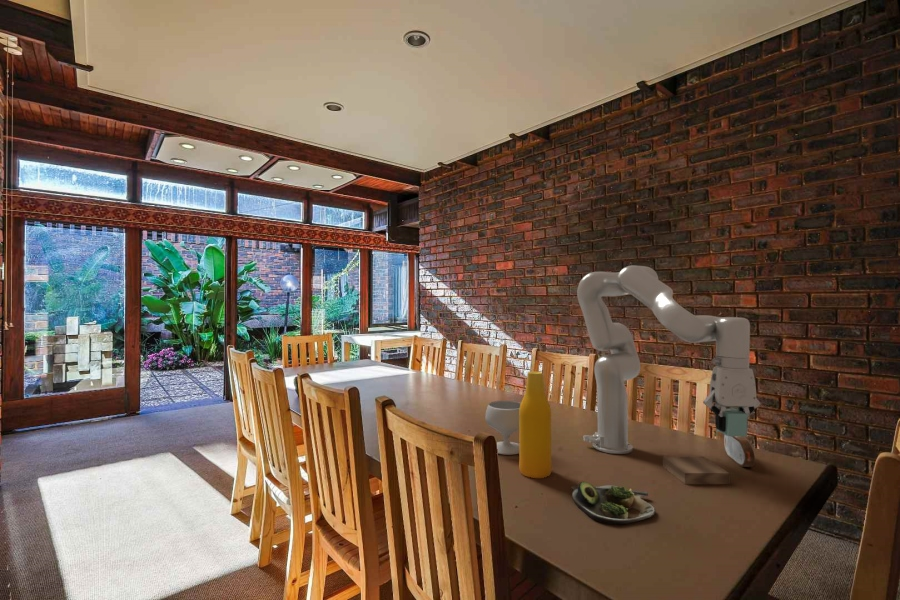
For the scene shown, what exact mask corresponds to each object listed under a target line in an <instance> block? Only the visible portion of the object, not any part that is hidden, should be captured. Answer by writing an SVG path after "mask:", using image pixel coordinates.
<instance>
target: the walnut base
mask: <svg viewBox="0 0 900 600" xmlns="http://www.w3.org/2000/svg"><path fill="white" fill-rule="evenodd" d="M662 467H663V468H664V469H665V470H666V469H667V470H666V471H668V472H669V473H670V474H671V475H673V476H674V477H675V478H676V479H678V480H679V481H680V482H682V483H683V484H684V485H730V484H731V483H730V478H731V477H730V476H731V475H730V472H728V471H727V470H726V469H724V468H722V467H720V466H719V465H717V464H715V463H714V462H713V461H711V460H709V459H708V458H706V457H704V456H662Z"/></svg>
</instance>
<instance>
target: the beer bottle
mask: <svg viewBox="0 0 900 600" xmlns="http://www.w3.org/2000/svg"><path fill="white" fill-rule="evenodd" d="M526 373H527V376H526V385H525V393H524V395H523V397H522V400H521V402H520V403H521V404H520V409H519V430H518V432H519V435H518V437H519V438H518V439H519V443H518V444H519V457H518V458H519V459H518V460H519V462H518V466H519V467H518V468H519V471H520V473H521V475H523V476H524V477H527V478H530V477H531V478H532V479H544V477H545V478H547V476H548V477H550V475H551V473H552V410H551V405H550V403H549V400H548V398H547V396H546V394H545V388H544V387H545V385H544V378H543V372H542V371H528V372H526Z"/></svg>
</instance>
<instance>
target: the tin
mask: <svg viewBox="0 0 900 600" xmlns="http://www.w3.org/2000/svg"><path fill="white" fill-rule="evenodd" d="M722 436H723V448H724V451H725V453H726V454H727V457H729V458H730V459H731V460H732V461H733V462H735V463H736V464H737V465H738V466H739V467H742V468H753V467H754V465H755V462H756V457H755V452H754V448H753V445H752V443H751V442H750V441H749V439H747V437H746V436H727V435H725V434H723V433H722Z"/></svg>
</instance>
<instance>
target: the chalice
mask: <svg viewBox="0 0 900 600" xmlns="http://www.w3.org/2000/svg"><path fill="white" fill-rule="evenodd" d="M520 404H521V402H518V401H515V400H514V401H513V400H496V401H491V402H489V404H488V405H487V407H486V411H485V415H484V416H485V417H484V418H485V419H484V420H485V421H486V423H487V426H489V427H490V428H492V429H493V430H496V431H497V432H499V433H500V434H501V436H502V437H503V441H496V442H497V449H498V453H497V454H498V455H505V456H507V455H508V456H510V455H511V456H512V455H518V454H519V443H518V442H513V441H510V437H511V435H512V434H513V433H515V432H517V431H519V409H520Z"/></svg>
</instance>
